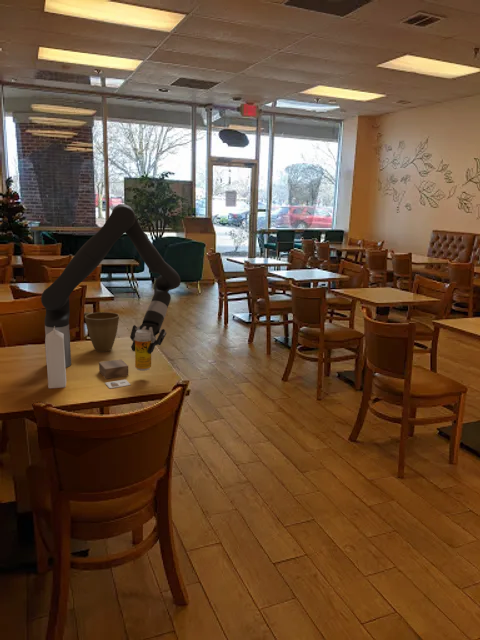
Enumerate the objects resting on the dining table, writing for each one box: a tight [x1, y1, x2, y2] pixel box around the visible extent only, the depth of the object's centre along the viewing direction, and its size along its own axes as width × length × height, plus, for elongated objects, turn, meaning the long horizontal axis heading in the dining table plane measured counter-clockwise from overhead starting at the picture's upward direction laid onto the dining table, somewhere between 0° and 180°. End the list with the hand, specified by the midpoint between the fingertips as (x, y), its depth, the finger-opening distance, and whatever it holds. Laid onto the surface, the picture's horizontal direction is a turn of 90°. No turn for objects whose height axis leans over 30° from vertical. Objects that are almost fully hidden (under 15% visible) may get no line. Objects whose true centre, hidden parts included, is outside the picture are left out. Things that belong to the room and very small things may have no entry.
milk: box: [44, 326, 67, 389], centre depth 184 cm, size 6×6×22 cm
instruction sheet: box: [104, 378, 131, 390], centre depth 189 cm, size 8×6×1 cm
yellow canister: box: [134, 329, 152, 372], centre depth 194 cm, size 6×6×15 cm
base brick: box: [98, 358, 129, 380], centre depth 200 cm, size 9×9×4 cm
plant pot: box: [84, 311, 120, 353], centre depth 228 cm, size 15×15×16 cm
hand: (141, 351), depth 192 cm, fingers closed on yellow canister, 6 cm apart
